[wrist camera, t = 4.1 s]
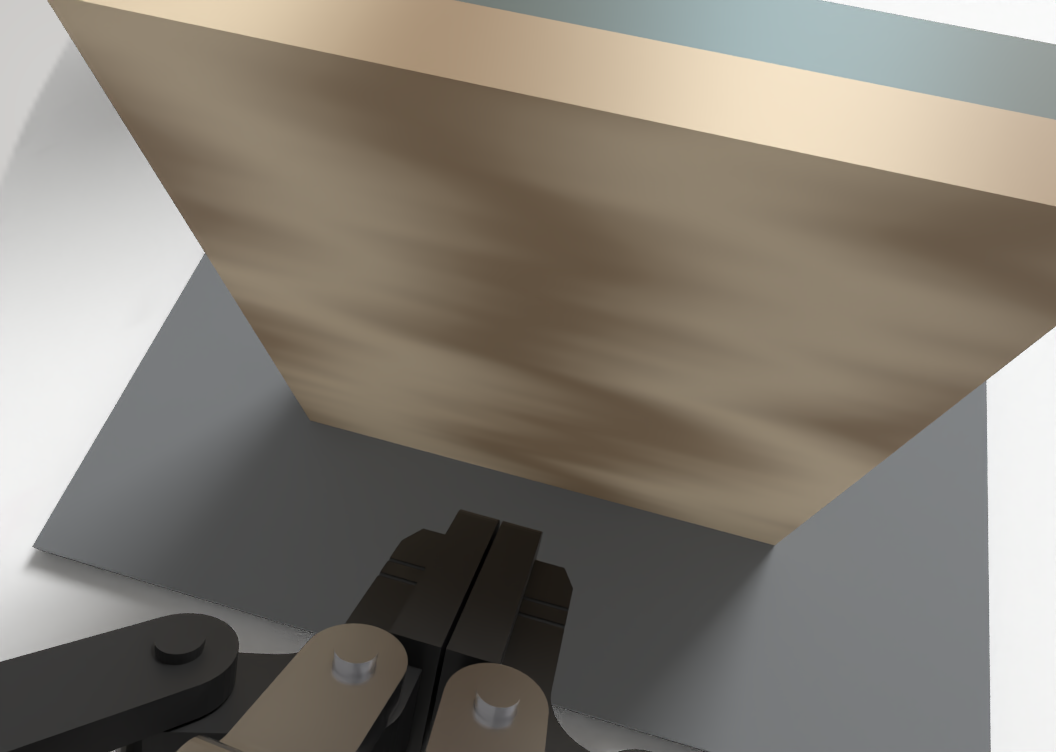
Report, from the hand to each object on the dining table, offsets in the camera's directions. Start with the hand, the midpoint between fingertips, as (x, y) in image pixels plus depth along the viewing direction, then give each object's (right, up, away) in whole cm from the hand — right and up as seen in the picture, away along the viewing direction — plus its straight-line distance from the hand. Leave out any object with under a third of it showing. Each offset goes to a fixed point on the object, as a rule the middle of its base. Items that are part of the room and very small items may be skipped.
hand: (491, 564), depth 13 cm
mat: (+2, +5, +8) cm, 10 cm away
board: (+1, +2, +6) cm, 6 cm away
